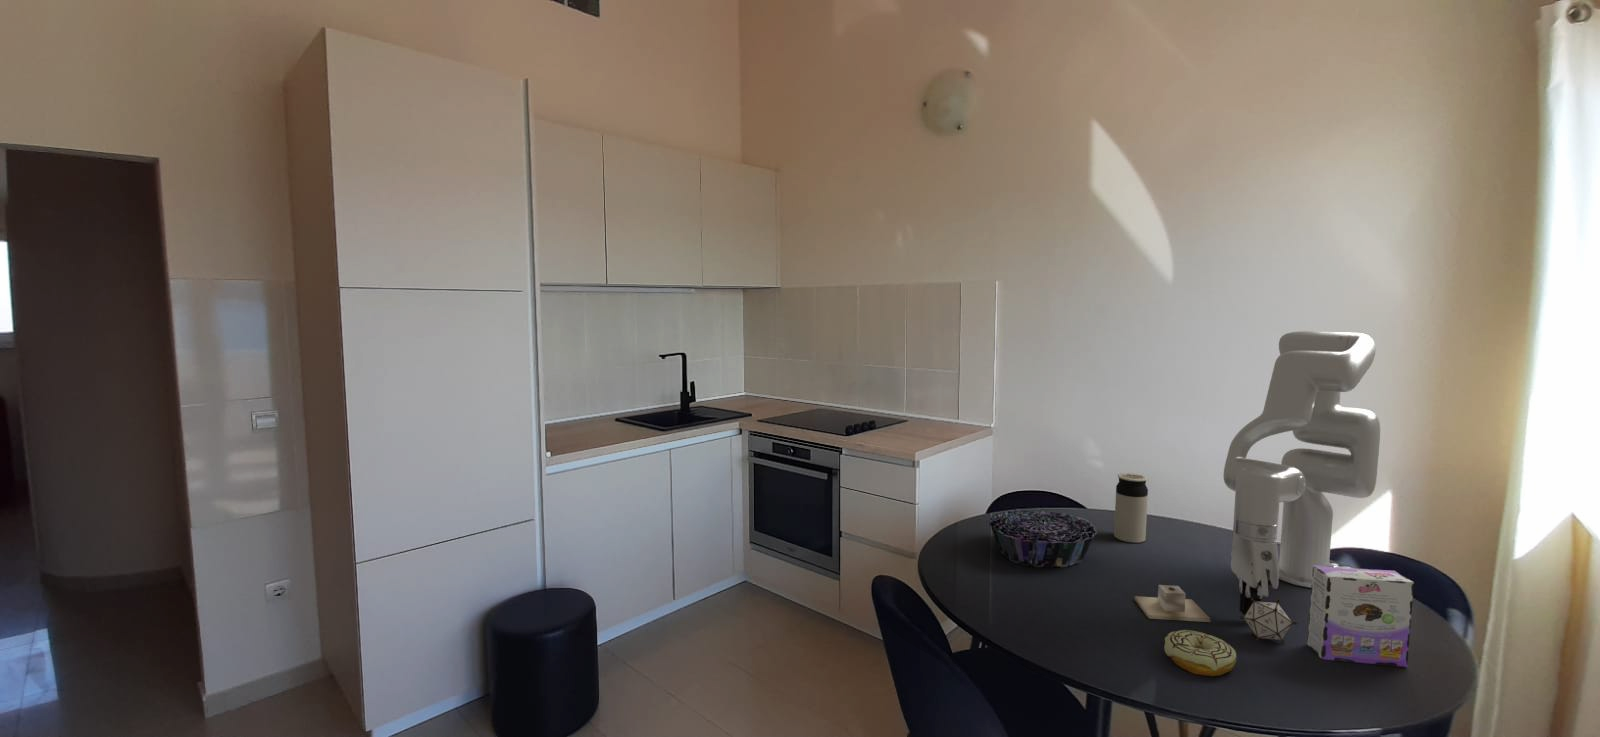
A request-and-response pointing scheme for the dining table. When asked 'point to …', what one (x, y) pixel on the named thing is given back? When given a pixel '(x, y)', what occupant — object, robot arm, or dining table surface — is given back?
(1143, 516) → the travel mug
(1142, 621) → the dining table surface
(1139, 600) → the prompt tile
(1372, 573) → the candy box
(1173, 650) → the decorated donut
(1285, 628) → the game die
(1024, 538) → the decorative bowl
